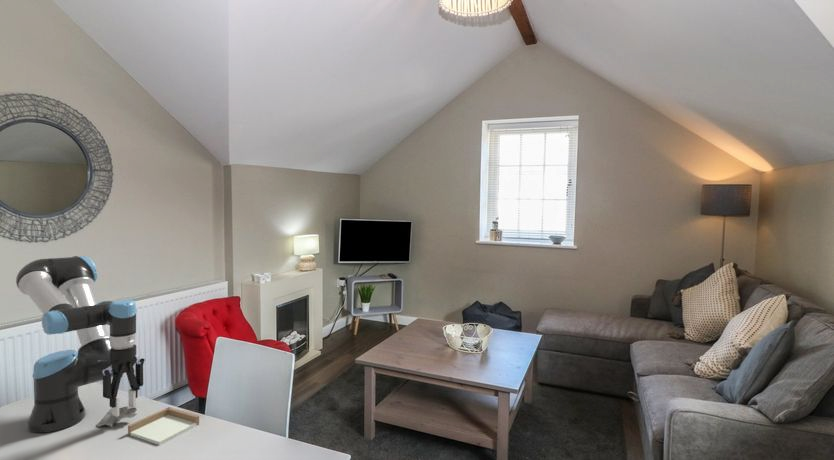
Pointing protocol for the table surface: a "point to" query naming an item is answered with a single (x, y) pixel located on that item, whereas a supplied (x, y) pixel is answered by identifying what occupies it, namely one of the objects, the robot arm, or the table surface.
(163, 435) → the corner
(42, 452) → the table surface
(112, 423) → the stone
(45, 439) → the table surface
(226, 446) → the table surface
